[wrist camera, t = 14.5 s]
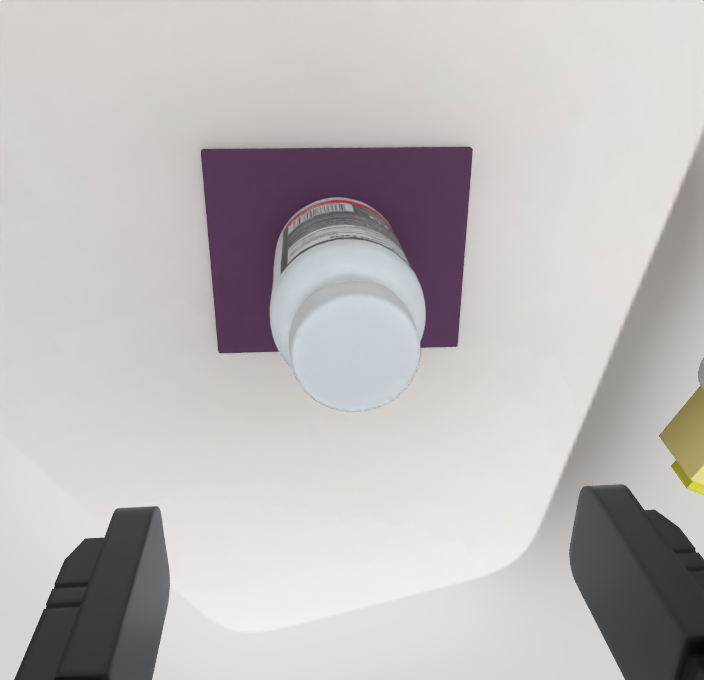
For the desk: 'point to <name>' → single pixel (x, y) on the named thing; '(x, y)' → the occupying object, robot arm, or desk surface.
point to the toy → (689, 439)
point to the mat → (320, 183)
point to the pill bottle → (346, 305)
